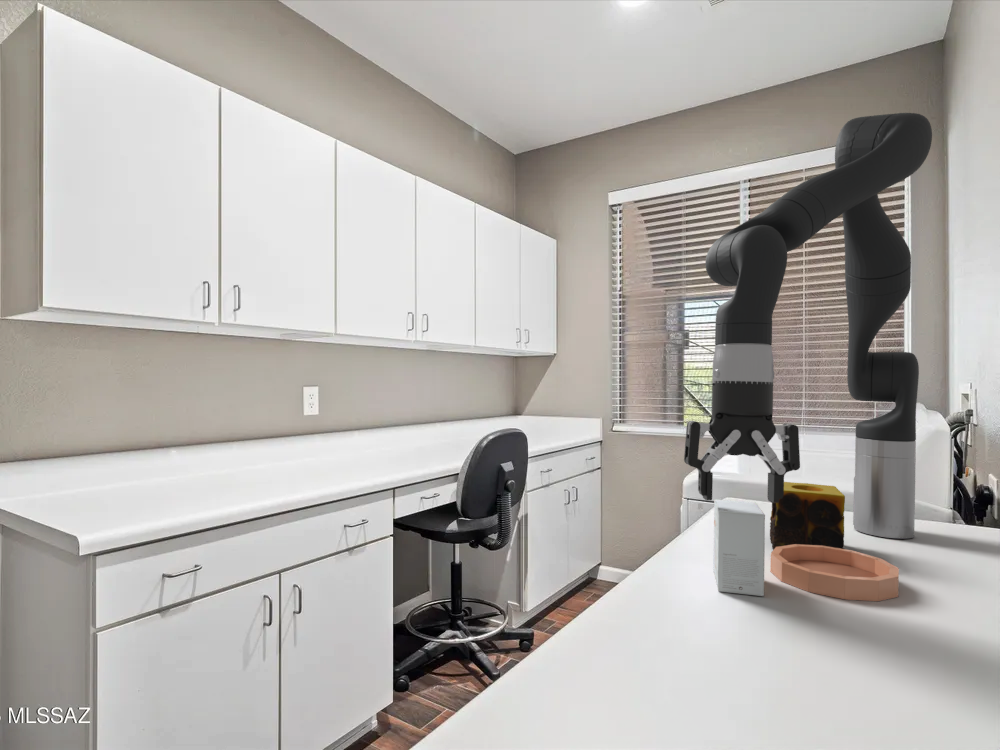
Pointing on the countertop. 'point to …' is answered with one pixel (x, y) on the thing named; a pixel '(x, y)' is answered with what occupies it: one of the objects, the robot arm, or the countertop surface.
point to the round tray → (835, 572)
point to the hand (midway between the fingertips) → (739, 500)
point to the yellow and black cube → (808, 516)
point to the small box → (739, 547)
